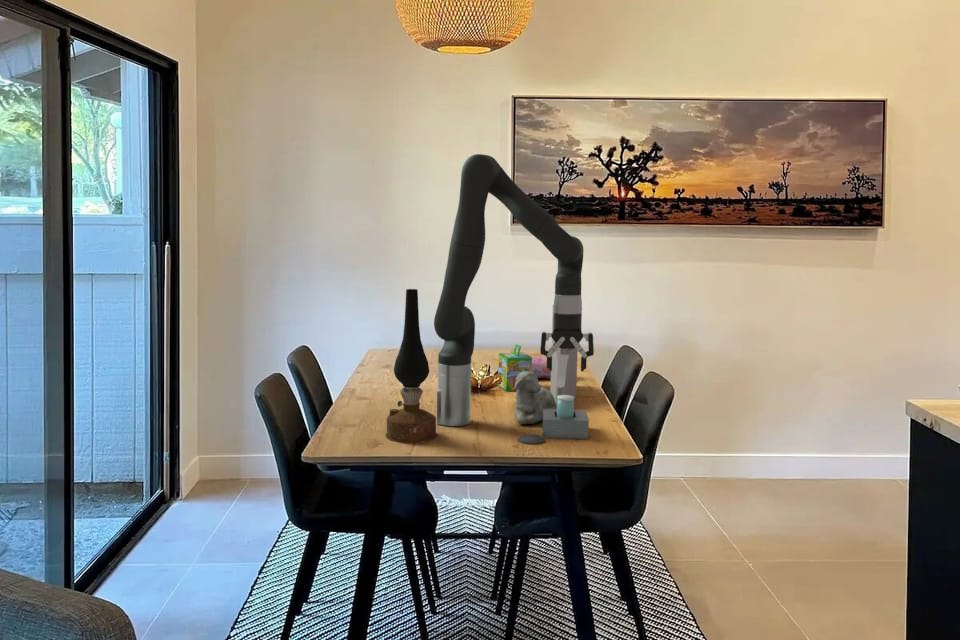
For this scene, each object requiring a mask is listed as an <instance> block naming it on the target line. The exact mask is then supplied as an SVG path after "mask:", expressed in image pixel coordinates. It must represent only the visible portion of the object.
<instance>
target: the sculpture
mask: <svg viewBox="0 0 960 640" xmlns="http://www.w3.org/2000/svg"><path fill="white" fill-rule="evenodd" d="M514 390H516V392H515V393H516V395H515V396H516V398H515V412H514V415H515V418H516V422H517V423H518V424H519V425H531V424H533V425H534V424H537V423H540V422H541V421H543V409H557V405H556V402H555V399H554V397H553V395H552V394H551V392H550V389H548V388H545V387H543V386H542V387H541V384H540V382H539V378H537V376H536V375H535V373H534V372H529V371H524V372H520V373H519V374H518V376H517V377H516V383H515V387H514Z"/></svg>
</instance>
